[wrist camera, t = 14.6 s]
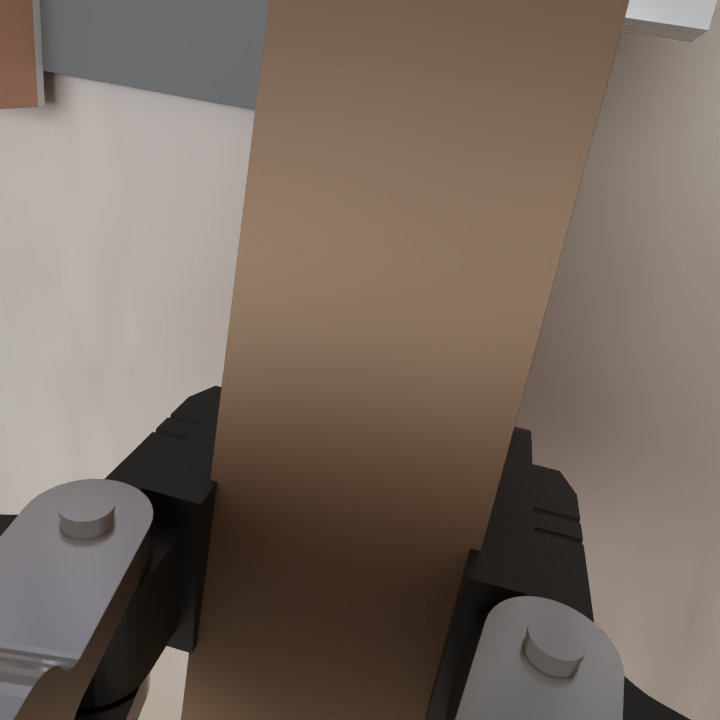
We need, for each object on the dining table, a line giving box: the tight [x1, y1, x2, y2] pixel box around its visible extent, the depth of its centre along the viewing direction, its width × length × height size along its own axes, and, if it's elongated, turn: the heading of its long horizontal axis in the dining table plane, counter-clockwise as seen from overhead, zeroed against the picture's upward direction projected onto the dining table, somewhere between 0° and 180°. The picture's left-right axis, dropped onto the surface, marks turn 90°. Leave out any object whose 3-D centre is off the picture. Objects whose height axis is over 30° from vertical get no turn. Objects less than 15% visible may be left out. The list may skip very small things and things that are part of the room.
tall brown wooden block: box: [181, 0, 718, 720], centre depth 8 cm, size 19×6×4 cm, turn 171°
